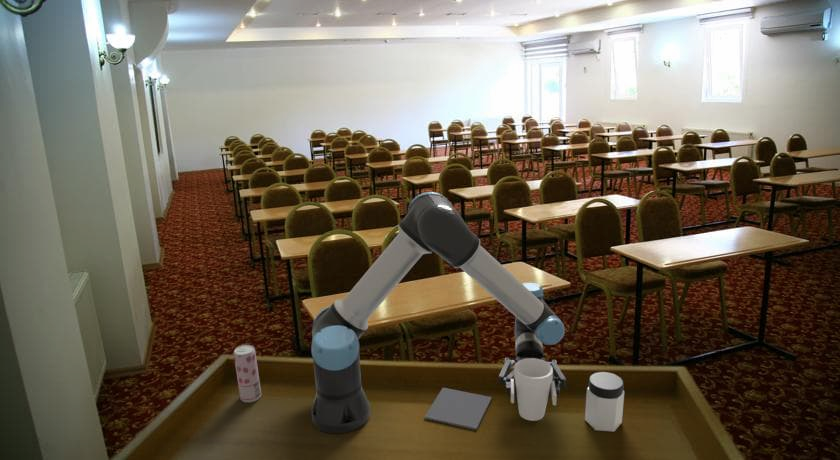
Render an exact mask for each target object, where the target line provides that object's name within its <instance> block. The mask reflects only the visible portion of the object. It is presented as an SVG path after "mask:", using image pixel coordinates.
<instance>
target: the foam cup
mask: <svg viewBox="0 0 840 460" xmlns="http://www.w3.org/2000/svg"><path fill="white" fill-rule="evenodd" d="M548 362H549V361H547V360H546V361H544V360H541V359H536V358H526V359H522V360H519V361H518V362H517V363H516V364H515V365H513V366H514V367H513V370H514V378H515V382H514V384H515V388H516V389H515V390H516V398H517V400H516V401H517V407H518V413H519V416H520V417H521V418H523V419H525V420H527V421H532V422H533V421H534V422H536V421H539V420H542V419H543V417H545V414H546V410H547V409H546V408H547V403H548V399H549V395H550V391H551V386H550V385H551V381H552V378H553V367H552V366H551V365H550V364H549V363H548Z"/></svg>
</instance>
